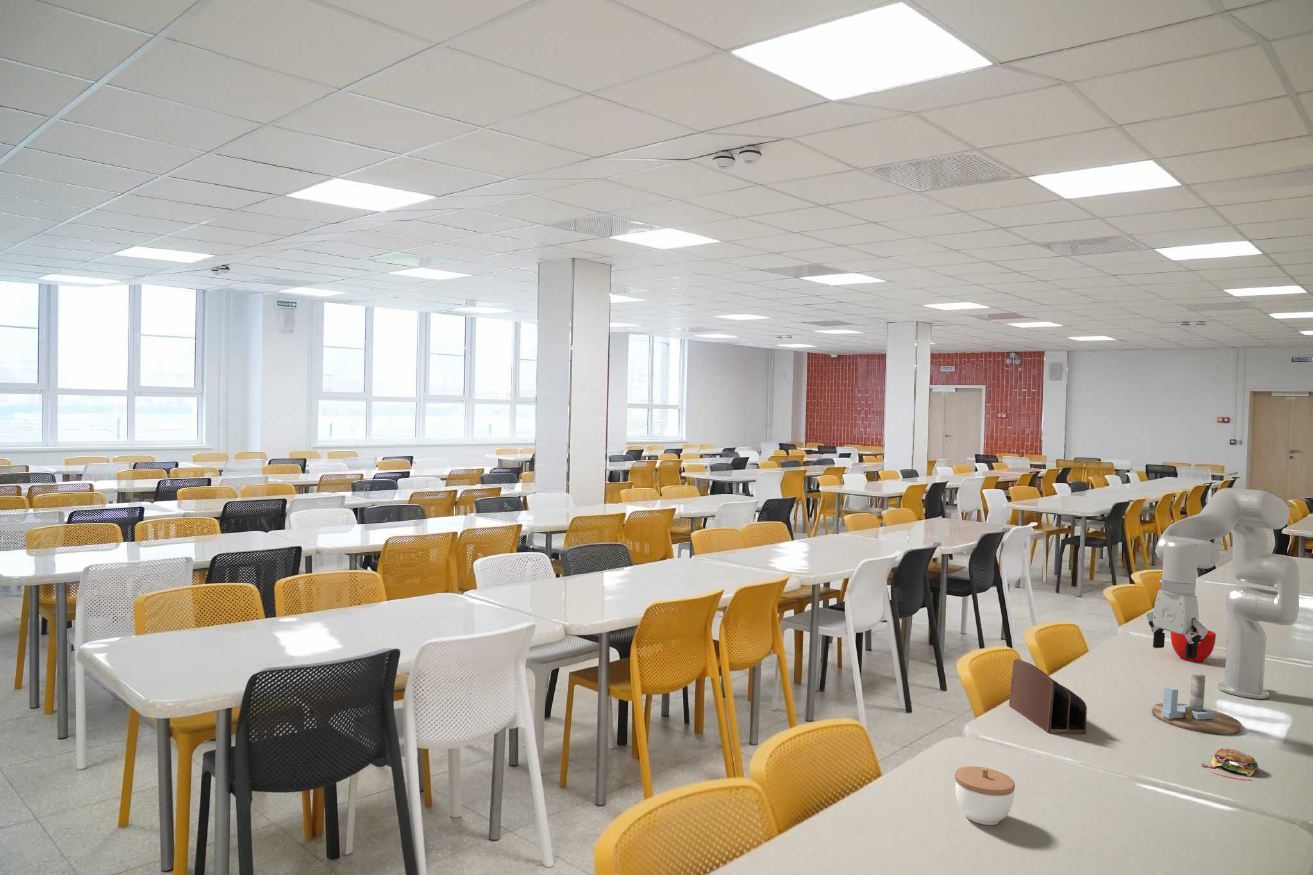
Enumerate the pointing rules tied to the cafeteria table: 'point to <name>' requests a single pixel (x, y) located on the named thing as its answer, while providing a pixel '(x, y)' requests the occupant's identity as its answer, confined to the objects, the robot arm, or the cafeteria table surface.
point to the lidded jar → (984, 794)
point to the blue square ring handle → (1180, 707)
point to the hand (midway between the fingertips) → (1174, 652)
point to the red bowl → (1202, 650)
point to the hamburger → (1233, 762)
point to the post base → (1203, 724)
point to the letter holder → (1046, 701)
